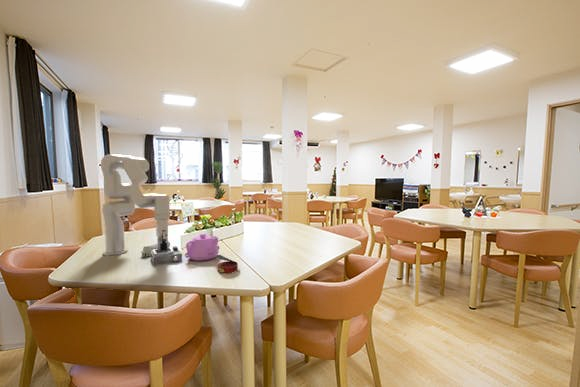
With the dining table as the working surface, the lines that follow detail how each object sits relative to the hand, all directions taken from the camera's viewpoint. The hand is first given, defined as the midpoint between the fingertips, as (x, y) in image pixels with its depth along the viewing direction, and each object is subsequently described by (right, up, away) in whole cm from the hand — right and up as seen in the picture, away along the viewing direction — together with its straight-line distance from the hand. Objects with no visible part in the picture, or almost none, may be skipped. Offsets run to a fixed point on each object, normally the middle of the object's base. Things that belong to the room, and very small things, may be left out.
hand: (162, 248), depth 143 cm
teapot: (+23, -7, +3) cm, 24 cm away
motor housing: (+2, -6, 0) cm, 7 cm away
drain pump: (0, -1, 0) cm, 1 cm away
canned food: (+40, -8, -15) cm, 43 cm away
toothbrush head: (-13, -6, +18) cm, 23 cm away
